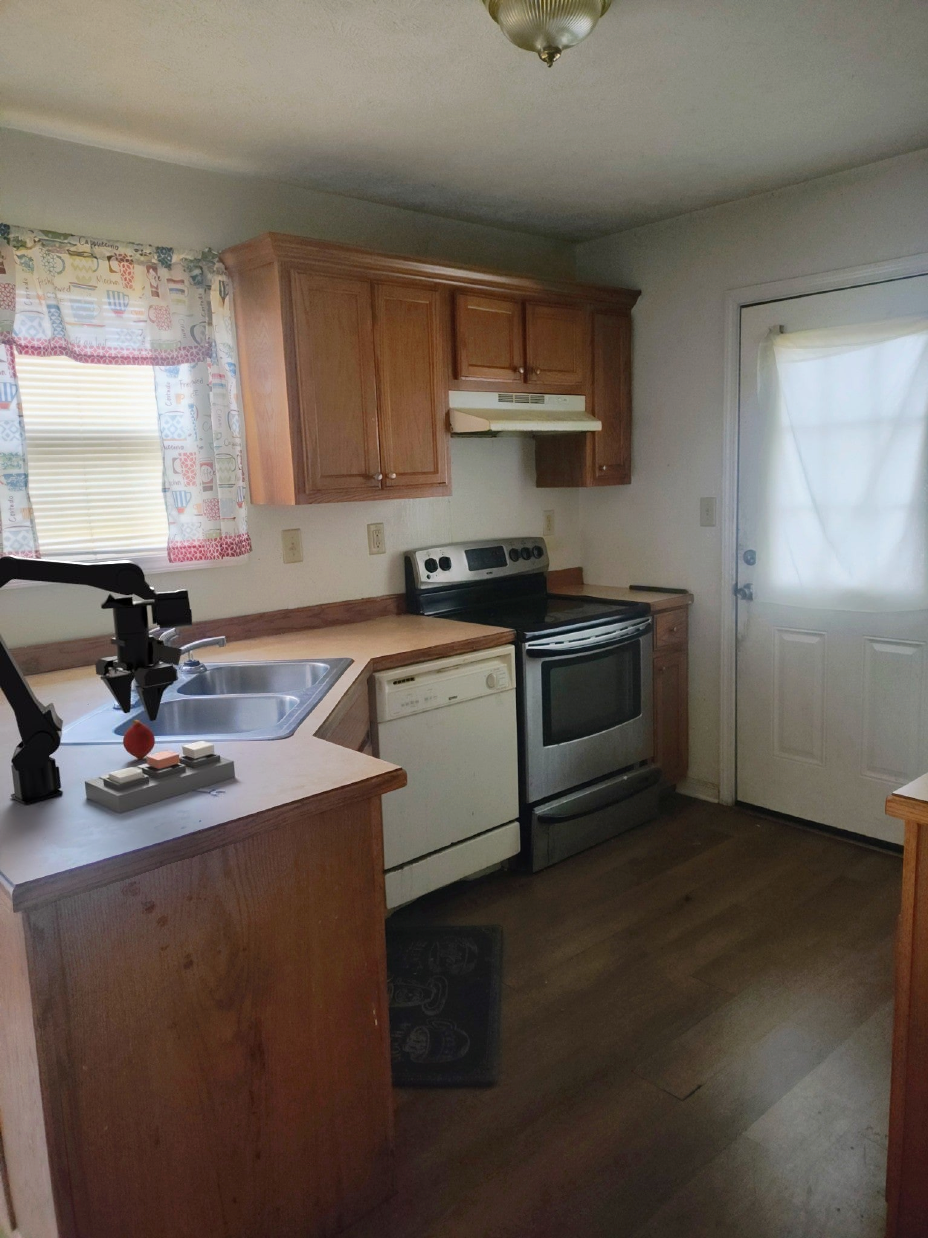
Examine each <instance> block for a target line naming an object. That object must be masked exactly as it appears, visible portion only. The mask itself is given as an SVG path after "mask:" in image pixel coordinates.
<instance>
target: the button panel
mask: <svg viewBox="0 0 928 1238" xmlns="http://www.w3.org/2000/svg"><path fill="white" fill-rule="evenodd" d="M178 754H179V753H178ZM179 761H180V763H178V764H174V765H171V766H167V767H164V768H160V769H158V768H155V767H152V766H149V765H147V763H143V764H140V765H137V766H134V767H133V768H135V769H137V770H140V771H142V773H143V777H141V778H138V779H135V780H131V781H128V782H124V783H121V784H119V783H116V782H114V781H112V780H109V773H108V774H104V775H100V776H98V777H95V778H91V779H89V780H85V781H84V786H85V787H84V788H85V797H86V799H88V800H90V801H92V802H95V803H97V804H99V805H101V806H102V807H105V808H107V809H110V810H112V811H114V812H116V813H119V814H123V813H125V812H129V811H132V810H136V809H138V808H141V807H144V806H147V805H151V804H154V803H157V802H160V801H163V800H167V799H169V798H172V797H175V796H179V795H182V794H185V793H188V792H191V791H195V790H198V789H201V788H205V787H207V786H210V785H215V784H216V783H220V782H224V781H226V780H230V779H232V778H235V777H236V772H235V770H236V769H235V761H234V760H231V759H229V758H225V757H222V756H221V755H220V754H218V753H215V752H214V753H213V754H209V755H206V756H202V757H199V758H192V757H189V756H186V755H183V752H182V753H180V754H179Z"/></svg>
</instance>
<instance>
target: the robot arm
mask: <svg viewBox="0 0 928 1238" xmlns="http://www.w3.org/2000/svg"><path fill="white" fill-rule="evenodd" d="M145 576H146V575H145V573H144V571H143V569H142V567H141V566H140V565H139V564H138V563H136V562H134V561H133V560H128V559H127V560H126V559H123V560H113V561H111V560H110V561H101V562H90V563H89V562H88V563H87V562H76V561H65V560H54V559H44V558H32V557H23V556H21V557H20V556H15V555H13V554H5V555H4V556H2V557H0V589H1V588H3V587H4V586H5V585H6V584H9V582H10V581H13V580H20V581H32V582H33V581H34V582H42V583H43V582H44V583H57V584H58V583H59V584H68V585H69V584H70V585H81V586H89V587H93V588H96V589H100V590H103V591H107V592H111V593H109V594H108V595H107V597H106V599H104V601H102V603H100V607H101V609H102V610H105V609H108V610H109V609H111V610H112V617H113V626H114V627H113V629H114V637H111V638H110V645H114V646H115V649H116V655H114V656H108V657H103V658H102V657H101V658H98V660H97V662H96V663H95V666H94V667H95V674H96V675H97V676H100V680H101V681H102V682H103V683H104V684H105V686H106V687H107V689H108V690H109V693H110V694H111V695H112V696H113V698H114V699H115V701H116V703H117V704H118V705H119V706H118V707H119V708H120V709H121V711H122V713H124V714H128V713H131V709H132V708H131V706H132V683H133V681H135V682H136V684H137V685H135V686H134V687H135V689H136V692H137V694H138V697H139V699H140V702H141V704H142V707H143V709H144V712H145V714H146V716H147V719H148V721H149V722H154V721H156V720H157V718H158V714H159V710H160V706H161V701H162V698H163V695H164V692H165V691H166V690H167V689H168V688H169V686H173V684H174V682H176V681H178V680H179V677H178V676H179V675H178V669H177V668H176V667H174V666H179V665H180V661H181V656H182V653H183V649H182V648H177V647H173V646H170V645H165V641H164V640H163V639H158V638H156V637H155V636H154V635H153V634H152V635H150V625H149V616H148V615H149V614H148V607H150V613H151V623H152V625H155V624H156V626H158V627H159V630H166V629H177V628H188V627H189V628H190V627H192V626H193V612H192V608H191V605H190V597H189V591H188V590H187V589H178V590H173V591H159V592H157V591H155V588H154V586H151V585H150V584H149V583H148V582H147V581H146V578H145ZM112 593H115V594H119V595H122V596H125V597H115V596H113V594H112ZM133 595H134V596H136V597H139V598H140V599H142V600H141V601H134V600H133ZM0 689H1V692H2V693H3V695H4V697H5V698H6V701H7V702H8V704H9V706H10V707H11V708H12V710H13V713H14V716H15V721H16V725H17V729H18V732H19V736H20V738H21V741H20V742H19V743H18V744H17V745H16V747H15V749H14V752H13V754H12V757H11V760H10V761H11V765H10V767H11V776H12V783H13V790H14V791H13V793H12V794H10V797H11V799H14V800H15V801H17V802H20V803H21V804H23V805H30V804H33V803H37V802H40V801H45V800H46V799H47V800H48V799H50V798H55V797H58V796H61V795H63V794H64V791H63V790H61V788H62V783H61V774H60V773H61V772H60V767H59V766H58V765H57V764H56V759H55V758H54V757H52V756H51V755H52V754H54V753H56V751H57V750H58V749H59V747H60V745H61V741H62V735H63V723H64V720H63V719H62V718H60V716H58V714H57V711H56V708H55V705H54V703H53V702H51V703H49V704H48V705H46V706H45V704H43V703H42V702H41V701H40V700H39V699H38V698H37V696H36V695H35V693H34V691H33V689H32V688H31V686H30V684H29V683H28V681H27V679H26V677H25V675H24V673H23V672H22V670H21V668H20V667H19V665H18V663H17V661H16V659H15V657H14V656H13V654H12V652H11V651H10V649H9V647H8V645H7V643H6V641H5V640H4V638H3V635H1V633H0Z"/></svg>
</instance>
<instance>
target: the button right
mask: <svg viewBox="0 0 928 1238" xmlns="http://www.w3.org/2000/svg"><path fill="white" fill-rule="evenodd" d="M181 747H182V753H183V755H186V756H189V757H192V758H199V757H202V756H206V755H209V754H213V753H214V754H215V745H214V743H210V742H208V741H203V740H199V741H196V742H193V743H189V744H185V745H182V746H181Z"/></svg>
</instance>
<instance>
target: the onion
mask: <svg viewBox="0 0 928 1238" xmlns="http://www.w3.org/2000/svg"><path fill="white" fill-rule="evenodd" d="M132 722H133V725H131V726H130V727H129V728H128V729H127V730H126V731H125V734H124V735H123V738H122V744H123V747H124V749H125V751H126V752H127V753H128V754H129V755H131V756H133V757H134V758H136V759H137V760H143V759H144V758H145V757H146V756H148V755H149V754H150V753H151V751H152V750H153V749H154V747H155V744H156V739H155V735H154V732H153V731H152V730H151V728H150V727H149V726H147V725H146V724H144V723H142V722H141V721H140V720H138V719H135V720H133V721H132Z"/></svg>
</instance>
